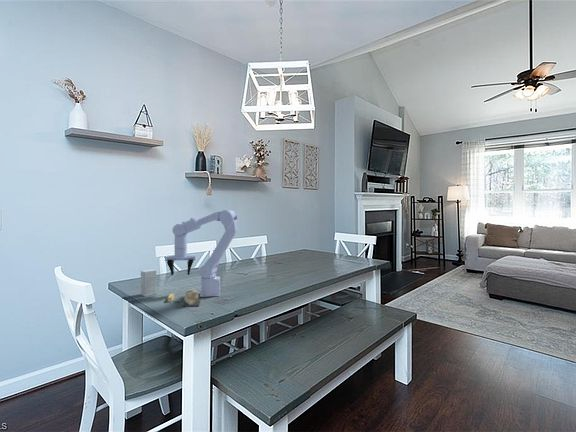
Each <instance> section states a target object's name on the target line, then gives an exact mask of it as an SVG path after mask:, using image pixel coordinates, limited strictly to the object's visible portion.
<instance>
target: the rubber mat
mask: <svg viewBox="0 0 576 432" xmlns="http://www.w3.org/2000/svg"><path fill="white" fill-rule="evenodd" d="M200 304H201V299H200V300H199V299H198V303H195V304H191V305H189V304H187V303H186V301H184V304H183V308H188V307H189V308H193V307H194V308H195V307H200Z"/></svg>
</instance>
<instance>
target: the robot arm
mask: <svg viewBox="0 0 576 432" xmlns="http://www.w3.org/2000/svg"><path fill="white" fill-rule="evenodd" d="M238 218H239V217H238V215H237V213H236V211H234V210H233V209H227V210H226V209H223V210H221V211H217V212H212V213H210V214H209V215H206V216H203V217H201V218H196V217H191V218H189V220H186V221H181V223H178V224H177V223H176V224H174V226H173V227H172V233H173V235H174V255H171V256H169V255H168V256H165V257H164V262H166V264H167V266H168V268H169V270H170V275H171V276H174V273H175V271H174V269H175V268H174V266H175V261H187V276H190V274H191V269H192V265H193V263H194V261H196V260H197V255H188V253H187V250H188V247H187V246H188V245H187V244H188V243H187V241H188V240H187V239H188V238H187V235H188V234H189V233H192V232H194V231H198V230H199V229H201V228H202V226H203V225H205V224H208V223H211V222H214V221H216V222H220V223H221V224H222V225H223V228H224V233H223V235H222V236H221V238H220V239H219V241H218V243H217V245H216V246H215V248H214V250H213V251H212V253H211V255H210V257H209V258H208V259H207V260H206V261H205V262H204V264H203V265H201V266H200V268H199V270H198V273H199V275H200V293H199V295H198V298H200V297H202V298H205V297H206V298H207V297H220V294H221V290H222V289H221V276H217V274H216V272H217V271H218V266H219V265H220V261H221V259H222V257H223V256H224V254H225V253H226V250H227V249H228V247H229V246H230V244H231V243H232V241H233V239H234V237H235V236H236V235H237V232H238Z"/></svg>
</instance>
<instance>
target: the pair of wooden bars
mask: <svg viewBox="0 0 576 432" xmlns="http://www.w3.org/2000/svg"><path fill="white" fill-rule="evenodd" d="M174 299H175V293H170V294H169V295H168V297H167V303H172V302H173V300H174ZM183 300H184V301H183V302H186V294H184V297H183Z"/></svg>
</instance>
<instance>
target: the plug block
mask: <svg viewBox="0 0 576 432" xmlns="http://www.w3.org/2000/svg"><path fill="white" fill-rule="evenodd" d="M185 295H186V301H185V302H186V303H187V304H189V305H191V304H195V303H198V300H199V291H197V290H195V289H193V290H191V289H190V290H187V291H185Z"/></svg>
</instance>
